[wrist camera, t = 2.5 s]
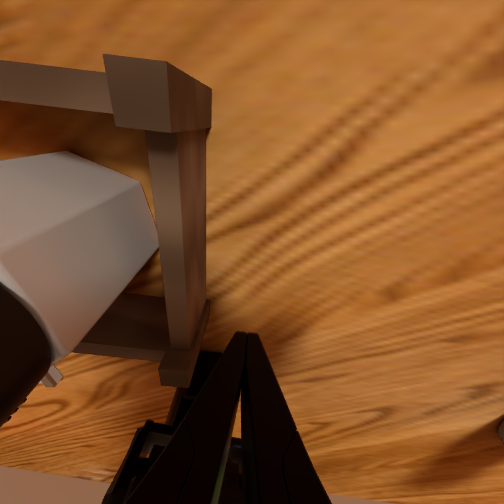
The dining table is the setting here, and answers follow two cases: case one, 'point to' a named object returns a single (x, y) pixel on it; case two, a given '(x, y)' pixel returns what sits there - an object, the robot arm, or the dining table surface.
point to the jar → (62, 259)
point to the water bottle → (501, 431)
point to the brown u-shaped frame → (164, 196)
